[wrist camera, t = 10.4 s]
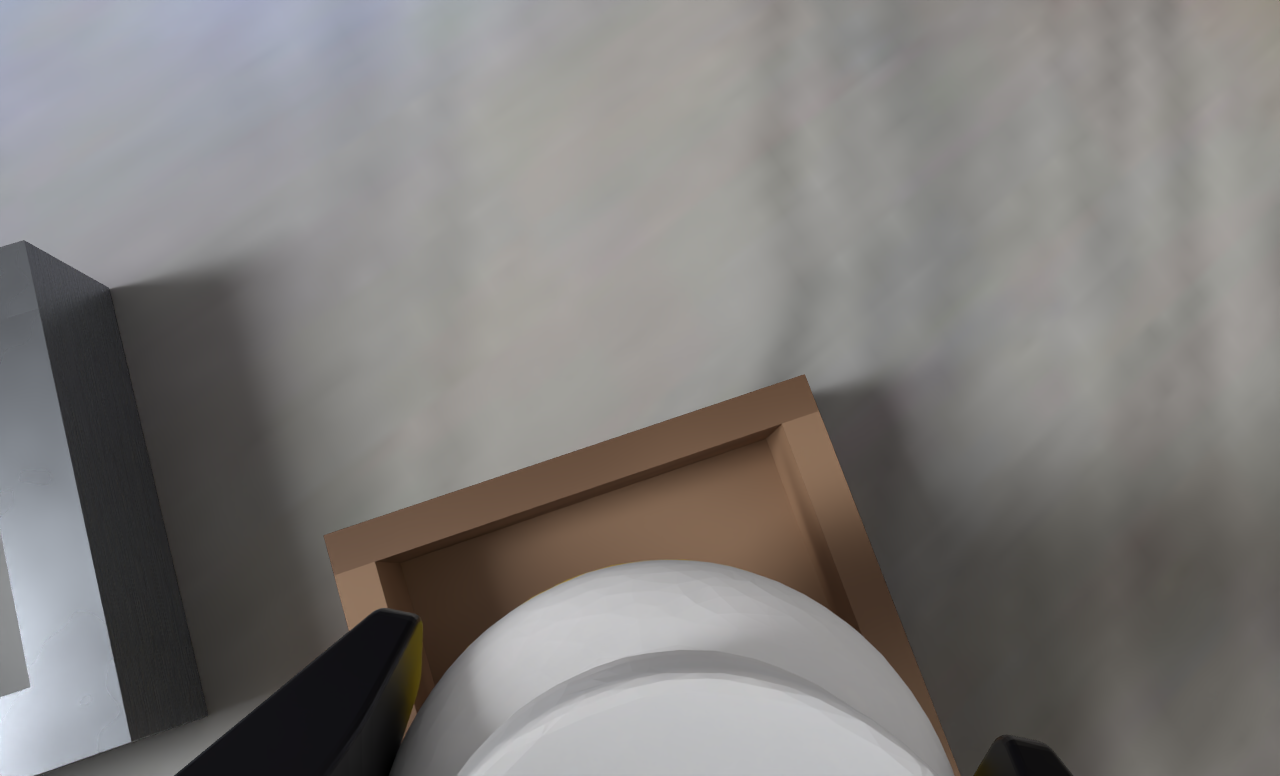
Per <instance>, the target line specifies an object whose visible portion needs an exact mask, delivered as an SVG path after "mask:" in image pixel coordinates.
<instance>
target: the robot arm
mask: <svg viewBox="0 0 1280 776" xmlns="http://www.w3.org/2000/svg"><path fill="white" fill-rule="evenodd" d="M422 640H423V623H422V620H421V617H420V616H419V615H416V614H414V613H409V612H404V611H399V610H395V609H390V608H380V609H377V610H375V611H373V612H372V613H371V614H370V615H368V616H367V617H366V618H365V619H363V620H362V621H361V622H360V623H359V624H357V625H356V626H355V627H354V628H353V629H351V630H350V631H349V632H348V633H346V634H345V635H344V636H343V637H342V638H340V639H339V640H338V641H337V642H336V643H334V644H333V645H332V646H331V647H330V648H328V649H327V650H326V651H325V652H323V653H322V654H321V655H320V656H319V657H317V658H316V659H315V660H314V661H313V662H311V663H310V664H309V665H308V666H306V667H305V668H304V669H303V670H302V671H300V672H299V673H298V674H297V675H296V676H294V677H293V678H292V679H291V680H290V681H288V682H287V683H286V684H285V685H283V686H282V687H281V688H280V689H279V690H277V691H276V692H275V693H274V694H273V695H271V696H270V697H269V698H268V699H267V700H265V701H264V702H263V703H262V704H260V705H259V706H258V707H257V708H256V709H254V710H253V711H252V712H251V713H250V714H248V715H247V716H246V717H245V718H243V719H242V720H241V721H240V722H239V723H237V724H236V725H235V726H234V727H233V728H231V729H230V730H229V731H228V732H227V733H225V734H224V735H223V736H222V737H220V738H219V739H218V740H217V741H216V742H214V743H213V744H212V745H211V746H210V747H208V748H207V749H206V750H205V751H203V752H202V753H201V754H200V755H199V756H197V757H196V758H195V759H194V760H193V761H191V762H190V763H189V764H188V765H187V766H185V767H184V768H183V769H182V770H180V771H179V772H178V773H177V774H176V775H174V776H389V773H390V770H391V768H392V765H393V762H394V759H395V757H396V754H397V752H398V750H399V747H400V745H401V743H402V739H403V736H404V733H405V730H406V727H407V724H408V721H409V718H410V715H411V712H412V709H413V705H414V702H415V699H416V696H417V692H418V688H419V684H420V678H421V668H422ZM974 776H1073V775H1072V774H1071V772H1070V771H1069V770H1068V769H1067V767H1066V766H1065V765H1064V764H1063V762H1062V761H1061V760H1060V758H1059V757H1058V756H1057V755H1056V753H1055V752H1054V751H1053V750H1052V749H1051V748H1050V747H1048V746H1047V745H1046V744H1044V743H1042V742H1039V741H1035V740H1030V739H1025V738H1021V737H1016V736H1011V735H1002V736H1000V737H999V738H997V739H996V740H995V741H994V743H993V744H992V746H991V747H990V749H989V751H988V752H987V754H986V756H985V757H984V759H983V761H982V762H981V764H980V766H979V767H978V769H977V771H976V772H975V774H974Z"/></svg>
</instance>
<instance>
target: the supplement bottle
mask: <svg viewBox="0 0 1280 776" xmlns="http://www.w3.org/2000/svg"><path fill="white" fill-rule="evenodd" d="M389 776H954V773H953V770H952V767H951V765H950V762H949V760H948V758H947V756H946V753H945V751H944V749H943V746H942V744H941V742H940V740H939V738H938V736H937V734H936V732H935V730H934V728H933V726H932V724H931V722H930V720H929V719H928V717H927V715H926V714H925V712H924V711H923V709H922V708H921V706H920V704H919V703H918V701H917V700H916V698H915V696H914V695H913V693H912V692H911V690H910V689H909V688H908V686H907V685H906V684H905V683H904V681H903V680H902V679H901V677H900V676H899V675H898V674H897V672H896V671H895V670H894V669H893V667H892V666H891V665H890V664H889V663H888V661H887V660H886V659H885V658H884V656H883V655H882V654H881V653H880V652H879V651H878V650H877V649H876V648H875V647H873V646H872V645H871V644H870V643H869V642H868V641H867V640H866V639H865V638H864V637H863V636H862V635H861V634H860V633H859V632H858V631H856V630H855V629H854V628H853V627H852V626H850V625H849V624H848V623H847V622H845V621H844V620H842V619H841V618H840V617H838V616H837V615H835V614H834V613H833V612H831V611H830V610H829V609H827V608H826V607H824V606H823V605H821V604H819V603H818V602H816V601H814V600H813V599H811V598H809V597H808V596H806V595H804V594H802V593H800V592H798V591H796V590H794V589H792V588H790V587H788V586H786V585H784V584H782V583H780V582H777V581H775V580H772V579H769V578H766V577H763V576H760V575H757V574H755V573H752V572H749V571H746V570H742V569H739V568H735V567H732V566H728V565H722V564H716V563H710V562H702V561H693V560H685V559H664V560H647V561H638V562H630V563H623V564H617V565H611V566H608V567H605V568H601V569H598V570H594V571H591V572H587V573H584V574H581V575H578V576H576V577H573V578H571V579H568V580H566V581H564V582H562V583H560V584H557V585H555V586H554V587H552V588H550V589H548V590H545V591H543V592H541V593H539V594H537V595H535V596H534V597H532V598H530V599H529V600H527V601H526V602H524V603H523V604H521V605H520V606H518V607H517V608H515V609H514V610H512V611H511V612H509V613H508V614H507V615H505V616H504V617H503V618H501V619H500V620H499V621H497V622H496V623H495V624H493V625H492V626H491V627H489V628H488V629H487V630H486V631H485V632H484V633H482V634H481V635H480V636H479V637H478V638H477V639H476V640H475V641H474V642H472V643H471V644H470V645H469V646H468V647H467V648H466V649H465V651H464V652H463V653H462V654H461V655H460V656H459V657H458V658H457V660H456V661H455V662H454V663H453V664H452V665H451V666H450V667H449V669H448V670H447V671H446V672H445V674H444V675H443V676H442V678H441V679H440V680H439V682H438V683H437V684H436V686H435V687H434V688H433V690H432V691H431V693H430V694H429V696H428V697H427V699H426V700H425V702H424V703H423V705H422V706H421V708H420V709H419V711H418V713H417V715H416V716H415V718H414V720H413V722H412V724H411V725H410V727H409V729H408V731H407V733H406V735H405V737H404V739H403V741H402V743H401V745H400V747H399V750H398V752H397V754H396V757H395V759H394V762H393V765H392V768H391V770H390V773H389Z"/></svg>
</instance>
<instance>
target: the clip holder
mask: <svg viewBox="0 0 1280 776" xmlns="http://www.w3.org/2000/svg"><path fill="white" fill-rule="evenodd" d="M0 532H1V537H2V542H3V547H4V553H5V558H6V563H7V568H8V573H9V578H10V583H11V588H12V594H13V599H14V604H15V609H16V614H17V619H18V624H19V630H20V635H21V640H22V645H23V650H24V655H25V660H26V665H27V671H28V676H29V681H30V686H31V687H30V688H27V689H24V690H21V691H18V692H15V693H12V694H9V695H6V696H3V697H0V776H37V775H40V774H43V773H45V772H48V771H51V770H54V769H57V768H60V767H63V766H65V765H68V764H71V763H74V762H77V761H80V760H83V759H86V758H88V757H91V756H94V755H97V754H100V753H103V752H106V751H108V750H111V749H114V748H117V747H120V746H123V745H126V744H129V743H131V742H134V741H137V740H140V739H143V738H146V737H149V736H151V735H154V734H157V733H160V732H163V731H166V730H169V729H172V728H174V727H177V726H180V725H183V724H186V723H189V722H192V721H194V720H197V719H200V718H203V717H206V716H208V713H207V709H206V705H205V700H204V696H203V692H202V687H201V683H200V679H199V674H198V670H197V666H196V661H195V657H194V653H193V648H192V644H191V640H190V636H189V631H188V627H187V623H186V618H185V614H184V610H183V605H182V601H181V597H180V592H179V588H178V584H177V579H176V575H175V571H174V566H173V562H172V558H171V554H170V549H169V545H168V541H167V536H166V532H165V528H164V523H163V519H162V515H161V510H160V506H159V502H158V497H157V493H156V489H155V484H154V480H153V476H152V472H151V467H150V463H149V459H148V454H147V450H146V446H145V441H144V437H143V433H142V428H141V424H140V420H139V415H138V411H137V407H136V402H135V398H134V394H133V390H132V385H131V381H130V377H129V372H128V368H127V364H126V359H125V355H124V351H123V346H122V342H121V338H120V333H119V329H118V325H117V321H116V316H115V312H114V308H113V303H112V299H111V295H110V290H109V288H108V287H106V286H105V285H103V284H101V283H99V282H97V281H96V280H94V279H92V278H90V277H89V276H87V275H85V274H83V273H81V272H80V271H78V270H76V269H74V268H73V267H71V266H69V265H67V264H65V263H64V262H62V261H60V260H58V259H57V258H55V257H53V256H51V255H49V254H48V253H46V252H44V251H42V250H40V249H39V248H37V247H35V246H33V245H32V244H30V243H28V242H26V241H24V240H23V241H20V242H16V243H13V244H10V245H6V246H3V247H0Z"/></svg>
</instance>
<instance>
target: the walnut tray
mask: <svg viewBox="0 0 1280 776" xmlns="http://www.w3.org/2000/svg"><path fill="white" fill-rule="evenodd" d="M324 539H325V543H326V547H327V550H328V554H329V558H330V562H331V565H332V569H333V573H334V577H335V580H336V584H337V588H338V592H339V595H340V599H341V603H342V607H343V610H344V614H345V618H346V622H347V625H348V629H349V631H350V630H351V629H353V628H354V627H355V626H356V625H357V624H359V623H360V622H361V621H362V620H363V619H365V618H366V617H367V616H368V615H370V614H371V613H372V612H373V611H375V610H377V609H380V608H390V609H395V610H399V611H404V612H409V613H414V614H416V615H419V616H420V617H421V620H422V623H423V640H422V668H421V678H420V684H419V688H418V692H417V696H416V699H415V702H414V705H413V709H412V712H411V715H410V718H409V721H408V724H407V727H406V730H405V733H404V736H403V739H404V737H405V735H406V733H407V731H408V729H409V727H410V725H411V724H412V722H413V720H414V718H415V716H416V715H417V713H418V711H419V709H420V708H421V706H422V705H423V703H424V702H425V700H426V699H427V697H428V696H429V694H430V693H431V691H432V690H433V688H434V687H435V686H436V684H437V683H438V682H439V680H440V679H441V678H442V676H443V675H444V674H445V672H446V671H447V670H448V669H449V667H450V666H451V665H452V664H453V663H454V662H455V661H456V660H457V658H458V657H459V656H460V655H461V654H462V653H463V652H464V651H465V649H466V648H467V647H468V646H469V645H470V644H471V643H472V642H474V641H475V640H476V639H477V638H478V637H479V636H480V635H481V634H482V633H484V632H485V631H486V630H487V629H488V628H489V627H491V626H492V625H493V624H495V623H496V622H497V621H499V620H500V619H501V618H503V617H504V616H505V615H507V614H508V613H509V612H511V611H512V610H514V609H515V608H517V607H518V606H520V605H521V604H523V603H524V602H526V601H527V600H529V599H530V598H532V597H534V596H535V595H537V594H539V593H541V592H543V591H545V590H548V589H550V588H552V587H554V586H555V585H557V584H560V583H562V582H564V581H566V580H568V579H571V578H573V577H576V576H578V575H581V574H584V573H587V572H591V571H594V570H598V569H601V568H605V567H608V566H611V565H617V564H623V563H630V562H638V561H647V560H664V559H685V560H693V561H702V562H710V563H716V564H722V565H728V566H732V567H735V568H739V569H742V570H746V571H749V572H752V573H755V574H757V575H760V576H763V577H766V578H769V579H772V580H775V581H777V582H780V583H782V584H784V585H786V586H788V587H790V588H792V589H794V590H796V591H798V592H800V593H802V594H804V595H806V596H808V597H809V598H811V599H813V600H814V601H816V602H818V603H819V604H821V605H823V606H824V607H826V608H827V609H829V610H830V611H831V612H833V613H834V614H835V615H837V616H838V617H840V618H841V619H842V620H844V621H845V622H847V623H848V624H849V625H850V626H852V627H853V628H854V629H855V630H856V631H858V632H859V633H860V634H861V635H862V636H863V637H864V638H865V639H866V640H867V641H868V642H869V643H870V644H871V645H872V646H873V647H875V648H876V649H877V650H878V651H879V652H880V653H881V654H882V655H883V656H884V658H885V659H886V660H887V661H888V663H889V664H890V665H891V666H892V667H893V669H894V670H895V671H896V672H897V674H898V675H899V676H900V677H901V679H902V680H903V681H904V683H905V684H906V685H907V686H908V688H909V689H910V690H911V692H912V693H913V695H914V696H915V698H916V700H917V701H918V703H919V704H920V706H921V708H922V709H923V711H924V712H925V714H926V715H927V717H928V719H929V720H930V722H931V724H932V726H933V728H934V730H935V732H936V734H937V736H938V738H939V740H940V742H941V744H942V746H943V749H944V751H945V753H946V756H947V758H948V760H949V762H950V765H951V767H952V770H953V773H954V776H961V775H960V773H959V770H958V767H957V765H956V762H955V760H954V757H953V755H952V752H951V749H950V747H949V744H948V742H947V739H946V737H945V734H944V731H943V729H942V726H941V724H940V721H939V718H938V716H937V713H936V711H935V708H934V706H933V703H932V700H931V698H930V695H929V693H928V690H927V688H926V685H925V682H924V680H923V677H922V675H921V672H920V670H919V667H918V664H917V662H916V659H915V657H914V654H913V652H912V649H911V646H910V644H909V641H908V639H907V636H906V634H905V631H904V628H903V626H902V623H901V621H900V618H899V616H898V613H897V610H896V608H895V605H894V603H893V600H892V598H891V595H890V592H889V590H888V587H887V585H886V582H885V580H884V577H883V574H882V572H881V569H880V567H879V564H878V562H877V559H876V556H875V554H874V551H873V549H872V546H871V543H870V541H869V538H868V536H867V533H866V531H865V528H864V525H863V523H862V520H861V518H860V515H859V513H858V510H857V507H856V505H855V502H854V500H853V497H852V495H851V492H850V489H849V487H848V484H847V482H846V479H845V477H844V474H843V471H842V469H841V466H840V464H839V461H838V459H837V456H836V453H835V451H834V448H833V446H832V443H831V441H830V438H829V435H828V433H827V430H826V428H825V425H824V423H823V420H822V417H821V415H820V412H819V410H818V407H817V405H816V402H815V399H814V397H813V394H812V392H811V389H810V386H809V384H808V381H807V379H806V376H805V374H804V375H801V376H798V377H795V378H792V379H789V380H786V381H783V382H780V383H777V384H774V385H771V386H768V387H765V388H762V389H759V390H756V391H753V392H750V393H747V394H744V395H741V396H738V397H735V398H732V399H729V400H726V401H723V402H720V403H717V404H714V405H711V406H708V407H705V408H703V409H700V410H697V411H694V412H691V413H688V414H685V415H682V416H679V417H676V418H673V419H670V420H667V421H664V422H661V423H658V424H655V425H652V426H649V427H646V428H643V429H640V430H637V431H634V432H631V433H628V434H625V435H622V436H619V437H616V438H613V439H610V440H607V441H604V442H601V443H598V444H595V445H592V446H589V447H586V448H583V449H580V450H577V451H574V452H571V453H568V454H565V455H562V456H559V457H556V458H553V459H550V460H547V461H544V462H541V463H538V464H535V465H532V466H529V467H526V468H523V469H520V470H517V471H514V472H511V473H508V474H505V475H502V476H499V477H496V478H493V479H491V480H488V481H485V482H482V483H479V484H476V485H473V486H470V487H467V488H464V489H461V490H458V491H455V492H452V493H449V494H446V495H443V496H440V497H437V498H434V499H431V500H428V501H425V502H422V503H419V504H416V505H413V506H410V507H407V508H404V509H401V510H398V511H395V512H392V513H389V514H386V515H383V516H380V517H377V518H374V519H371V520H368V521H365V522H362V523H359V524H356V525H353V526H350V527H347V528H344V529H341V530H338V531H335V532H332V533H329V534H326V535H324ZM403 739H402V741H403Z"/></svg>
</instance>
